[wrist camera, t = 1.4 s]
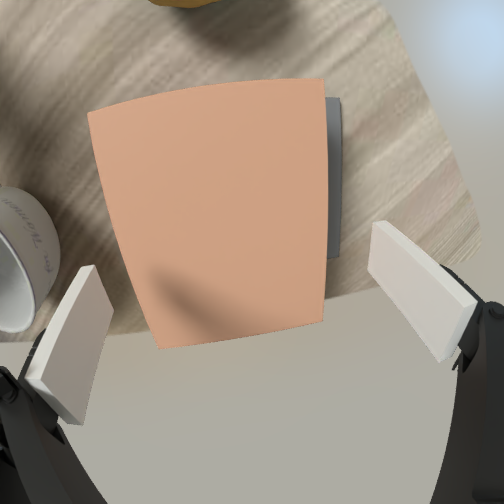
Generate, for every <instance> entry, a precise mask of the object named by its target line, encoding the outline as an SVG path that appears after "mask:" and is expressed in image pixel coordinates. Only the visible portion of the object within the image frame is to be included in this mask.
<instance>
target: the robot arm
mask: <svg viewBox="0 0 504 504" xmlns="http://www.w3.org/2000/svg"><path fill="white" fill-rule="evenodd" d="M367 271H368V272H369V273H370V274H371V276H372V277H373V278H374V279H375V280H376V282H377V283H378V284H379V285H380V286H381V288H382V289H383V290H384V291H385V293H386V294H387V295H388V296H389V298H390V299H391V300H392V301H393V303H394V304H395V305H396V307H397V308H398V309H399V310H400V312H401V313H402V314H403V315H404V317H405V318H406V319H407V321H408V322H409V323H410V325H411V326H412V327H413V329H414V330H415V331H416V333H417V334H418V335H419V337H420V338H421V340H422V341H423V342H424V344H425V345H426V346H427V348H428V349H429V351H430V352H431V353H432V355H433V356H434V358H435V359H436V360H437V362H438V363H439V362H441V361H443V360H446V359H448V358H450V357H452V355H453V353H454V352H455V350H456V348H457V346H459V348H460V349H461V350H462V351H461V353H460V355H459V356H458V358H457V360H456V362H455V364H454V365H453V368H452V370H455V368H456V366H457V365H458V370H457V371H458V377H457V386H456V395H455V403H454V409H453V416H452V422H451V427H450V432H449V437H448V443H447V446H446V451H445V455H444V459H443V463H442V467H441V470H440V474H439V477H438V480H437V484H436V487H435V490H434V493H433V496H432V499H431V502H430V504H504V306H503V305H501V304H499V303H497V302H492V301H490V302H487V303H485V302H484V301H483V300H482V299H481V298H480V297H479V296H478V295H477V294H476V293H475V292H474V291H473V290H472V289H471V288H470V287H469V286H468V285H467V284H464V281H462V280H461V279H460V278H458V276H457V275H456V274H455V273H454V272H453V271H452V270H450V269H449V268H447V267H445V266H443V265H441V264H440V265H439V264H438V263H436V262H435V261H434V260H433V259H432V258H431V257H430V256H429V255H427V254H426V253H425V252H424V251H423V250H422V249H420V248H419V247H418V246H417V245H416V244H415V243H413V242H412V241H411V240H410V239H409V238H407V237H406V236H405V235H404V234H402V233H401V232H400V231H399V230H397V229H396V228H395V227H394V226H392V225H391V224H390V223H389V222H387V221H386V220H384V221H377V222H373V227H372V237H371V246H370V254H369V262H368V269H367ZM113 313H114V309H113V307H112V305H111V303H110V301H109V298H108V296H107V294H106V291H105V289H104V287H103V284H102V282H101V279H100V277H99V274H98V272H97V269H96V267H95V265H89V266H84V267H81V268H80V270H79V272H78V273H77V275H76V276H75V278H74V280H73V281H72V283H71V285H70V287H69V288H68V290H67V292H66V294H65V295H64V297H63V299H62V301H61V302H60V304H59V306H58V308H57V310H56V312H55V314H54V315H53V317H52V319H51V321H50V323H49V325H48V327H47V329H44V330H43V331H42V332H41V333H40V334H39V335H38V337H37V338H36V340H35V342H34V344H33V346H32V347H33V348H32V349H31V350H30V353H29V356H28V357H27V359H26V361H25V364H24V366H23V368H22V370H21V373H20V375H19V377H18V380H16V379H15V378H14V376H13V375H12V374H11V373H10V372H9V370H8V369H7V368H6V367H4V366H0V504H107V502H106V501H105V499H104V498H103V497H102V495H101V494H100V493H99V491H98V490H97V488H96V487H95V485H94V484H93V482H92V481H91V479H90V478H89V476H88V474H87V473H86V471H85V470H84V468H83V466H82V465H81V463H80V461H79V459H78V458H77V456H76V454H75V452H74V451H73V449H72V447H71V445H70V443H69V442H68V440H67V438H66V436H65V434H64V432H63V430H62V428H61V426H60V425H59V424H58V423H57V420H58V416H60V417H61V418H62V419H63V420H64V421H65V422H66V423H67V424H74V425H83V423H84V419H85V414H86V409H87V404H88V400H89V396H90V392H91V388H92V384H93V380H94V376H95V372H96V369H97V364H98V361H99V358H100V354H101V351H102V347H103V344H104V341H105V338H106V334H107V331H108V328H109V325H110V322H111V319H112V316H113Z"/></svg>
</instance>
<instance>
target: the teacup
mask: <svg viewBox="0 0 504 504" xmlns="http://www.w3.org/2000/svg"><path fill="white" fill-rule="evenodd" d="M59 266H60V244H59V239H58V235H57V232H56V229H55V226H54V224H53V222H52V220H51V218H50V216H49V214H48V213H47V211H46V210H45V209H44V207H43V206H42V205H41V204H40V202H39V201H38V200H37V199H35V198H34V197H33V196H32V195H30V194H29V193H27V192H25V191H24V190H21V189H19V188H16V187H2V186H1V184H0V330H1V331H5V332H8V333H19V332H23V331H25V330H27V329H28V328H29V327H30V326H31V325H32V323H33V321H34V319H35V316H36V313H37V311H38V310H39V308H40V306H41V305H42V303H43V301H44V300H45V298H46V296H47V295H48V293H49V291H50V289H51V287H52V286H53V284H54V282H55V279H56V277H57V274H58V270H59Z"/></svg>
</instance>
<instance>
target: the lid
mask: <svg viewBox="0 0 504 504" xmlns="http://www.w3.org/2000/svg"><path fill="white" fill-rule="evenodd" d="M87 116H88V122H89V128H90V134H91V139H92V145H93V150H94V154H95V159H96V164H97V168H98V173H99V177H100V181H101V185H102V189H103V193H104V197H105V201H106V204H107V208H108V212H109V215H110V219H111V222H112V226H113V229H114V232H115V235H116V239H117V242H118V245H119V248H120V251H121V254H122V257H123V260H124V263H125V266H126V269H127V272H128V274H129V277H130V280H131V283H132V285H133V288H134V291H135V293H136V296H137V298H138V301H139V304H140V306H141V309H142V311H143V314H144V316H145V318H146V321H147V323H148V326H149V328H150V330H151V333H152V335H153V337H154V339H155V342H156V344H157V346H158V348H159V349H165V348H173V347H182V346H189V345H197V344H204V343H211V342H218V341H224V340H230V339H236V338H242V337H248V336H254V335H259V334H264V333H270V332H275V331H279V330H285V329H290V328H294V327H299V326H304V325H308V324H312V323H317V322H321V321H323V308H324V295H325V280H326V260H327V233H328V148H327V122H326V104H325V89H324V79H267V80H251V81H239V82H229V83H220V84H212V85H205V86H198V87H192V88H186V89H180V90H175V91H169V92H164V93H160V94H155V95H150V96H146V97H142V98H138V99H134V100H130V101H126V102H122V103H118V104H115V105H111V106H108V107H105V108H101V109H98V110H95V111H92V112H89V113H87Z"/></svg>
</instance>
